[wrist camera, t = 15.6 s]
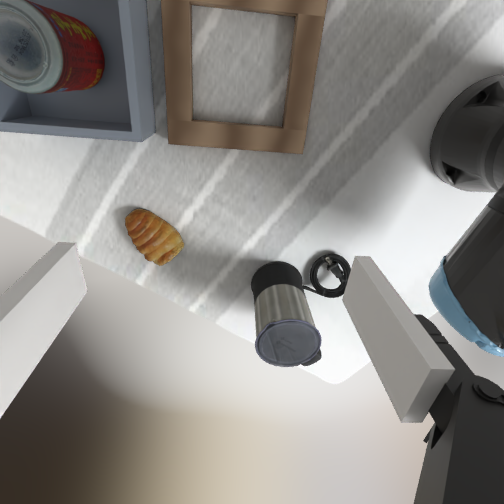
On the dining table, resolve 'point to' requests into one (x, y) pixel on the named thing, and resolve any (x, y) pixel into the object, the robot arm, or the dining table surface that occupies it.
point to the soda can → (46, 50)
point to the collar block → (237, 134)
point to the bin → (105, 91)
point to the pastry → (153, 236)
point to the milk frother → (291, 311)
